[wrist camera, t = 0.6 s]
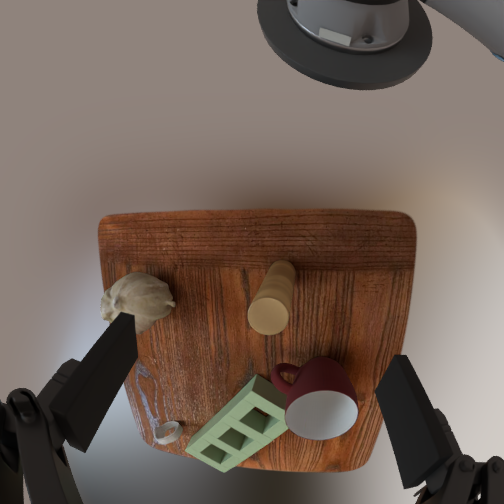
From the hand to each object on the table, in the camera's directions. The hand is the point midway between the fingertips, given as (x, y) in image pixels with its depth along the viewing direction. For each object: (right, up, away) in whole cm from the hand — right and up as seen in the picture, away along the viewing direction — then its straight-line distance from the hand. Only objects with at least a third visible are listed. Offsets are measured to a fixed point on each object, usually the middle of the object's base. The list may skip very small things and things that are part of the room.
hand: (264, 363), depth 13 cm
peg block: (-2, -22, +27) cm, 35 cm away
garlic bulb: (-14, 0, +25) cm, 29 cm away
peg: (+3, +3, +21) cm, 22 cm away
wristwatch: (-14, -25, +30) cm, 42 cm away
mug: (+7, -10, +23) cm, 26 cm away
